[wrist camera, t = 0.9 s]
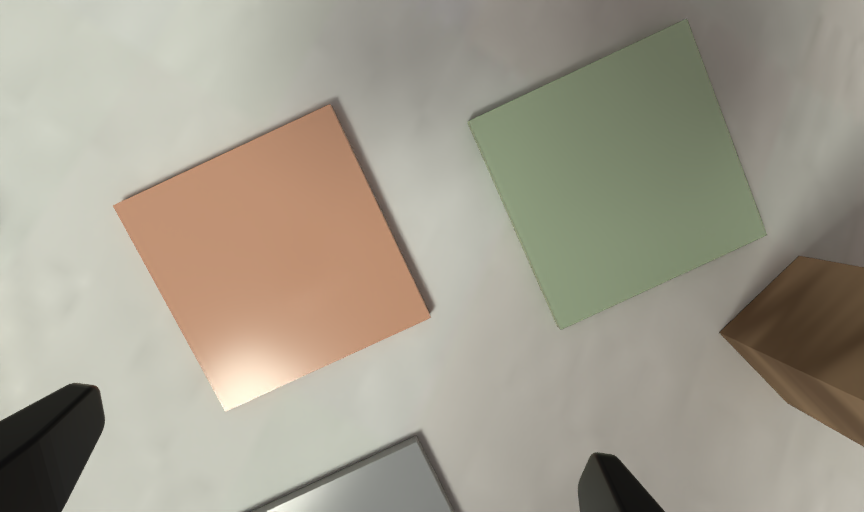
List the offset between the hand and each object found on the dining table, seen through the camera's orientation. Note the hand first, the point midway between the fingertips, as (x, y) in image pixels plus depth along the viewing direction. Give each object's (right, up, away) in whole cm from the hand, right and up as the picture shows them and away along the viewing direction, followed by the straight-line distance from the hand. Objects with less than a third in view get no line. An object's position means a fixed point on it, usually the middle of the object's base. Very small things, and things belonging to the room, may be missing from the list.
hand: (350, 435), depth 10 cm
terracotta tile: (-5, +3, +14) cm, 15 cm away
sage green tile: (+10, +7, +14) cm, 18 cm away
